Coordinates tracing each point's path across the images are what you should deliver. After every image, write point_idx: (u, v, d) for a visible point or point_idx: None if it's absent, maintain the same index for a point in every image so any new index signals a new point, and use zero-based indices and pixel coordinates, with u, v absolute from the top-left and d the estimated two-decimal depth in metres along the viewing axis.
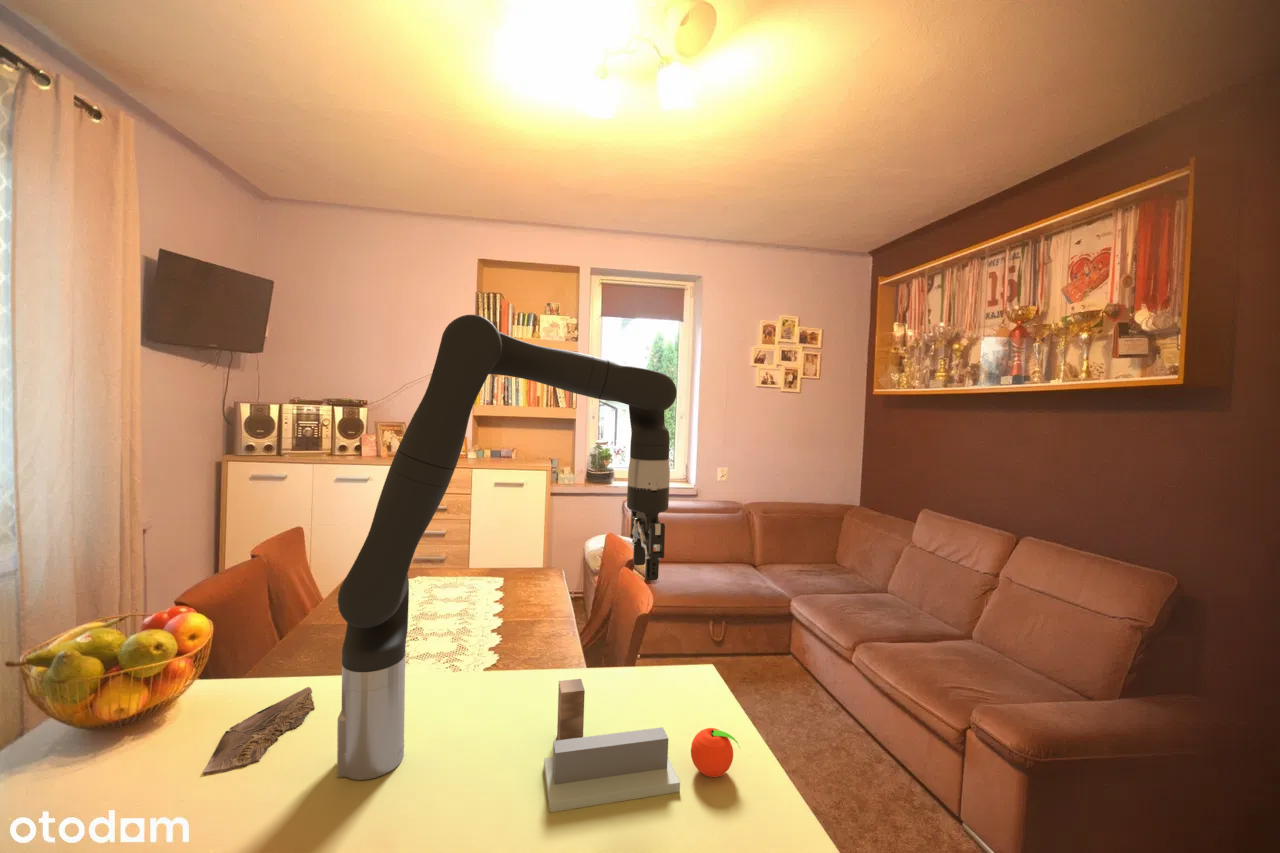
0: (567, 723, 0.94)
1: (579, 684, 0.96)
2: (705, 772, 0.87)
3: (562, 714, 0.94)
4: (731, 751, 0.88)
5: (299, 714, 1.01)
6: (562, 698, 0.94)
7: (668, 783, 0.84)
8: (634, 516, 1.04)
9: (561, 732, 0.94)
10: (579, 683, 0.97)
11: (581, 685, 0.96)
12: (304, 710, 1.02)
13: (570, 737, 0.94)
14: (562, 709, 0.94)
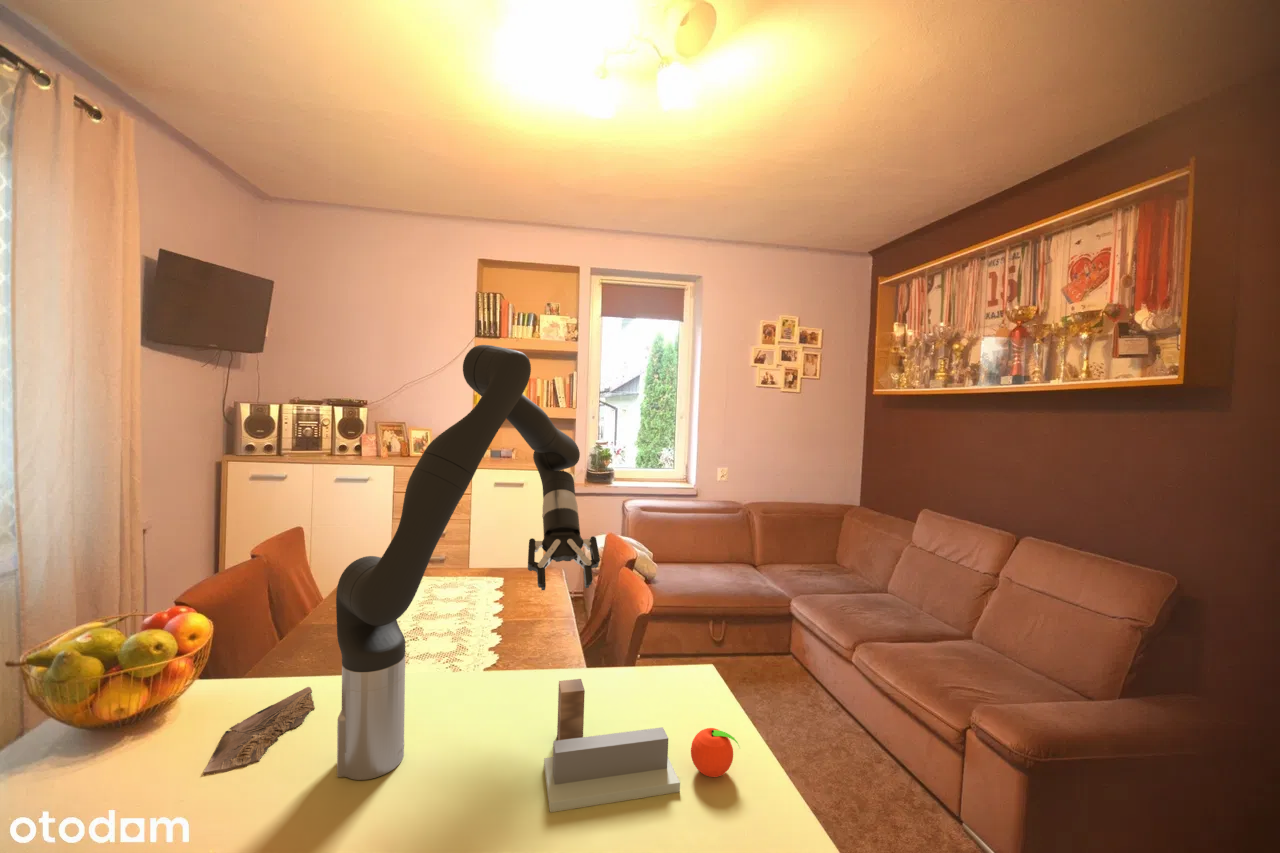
0: (567, 723, 0.94)
1: (579, 684, 0.96)
2: (705, 772, 0.87)
3: (562, 714, 0.94)
4: (731, 751, 0.88)
5: (299, 714, 1.01)
6: (562, 698, 0.94)
7: (668, 783, 0.84)
8: None
9: (561, 732, 0.94)
10: (579, 683, 0.97)
11: (581, 685, 0.96)
12: (304, 710, 1.02)
13: (570, 737, 0.94)
14: (562, 709, 0.94)
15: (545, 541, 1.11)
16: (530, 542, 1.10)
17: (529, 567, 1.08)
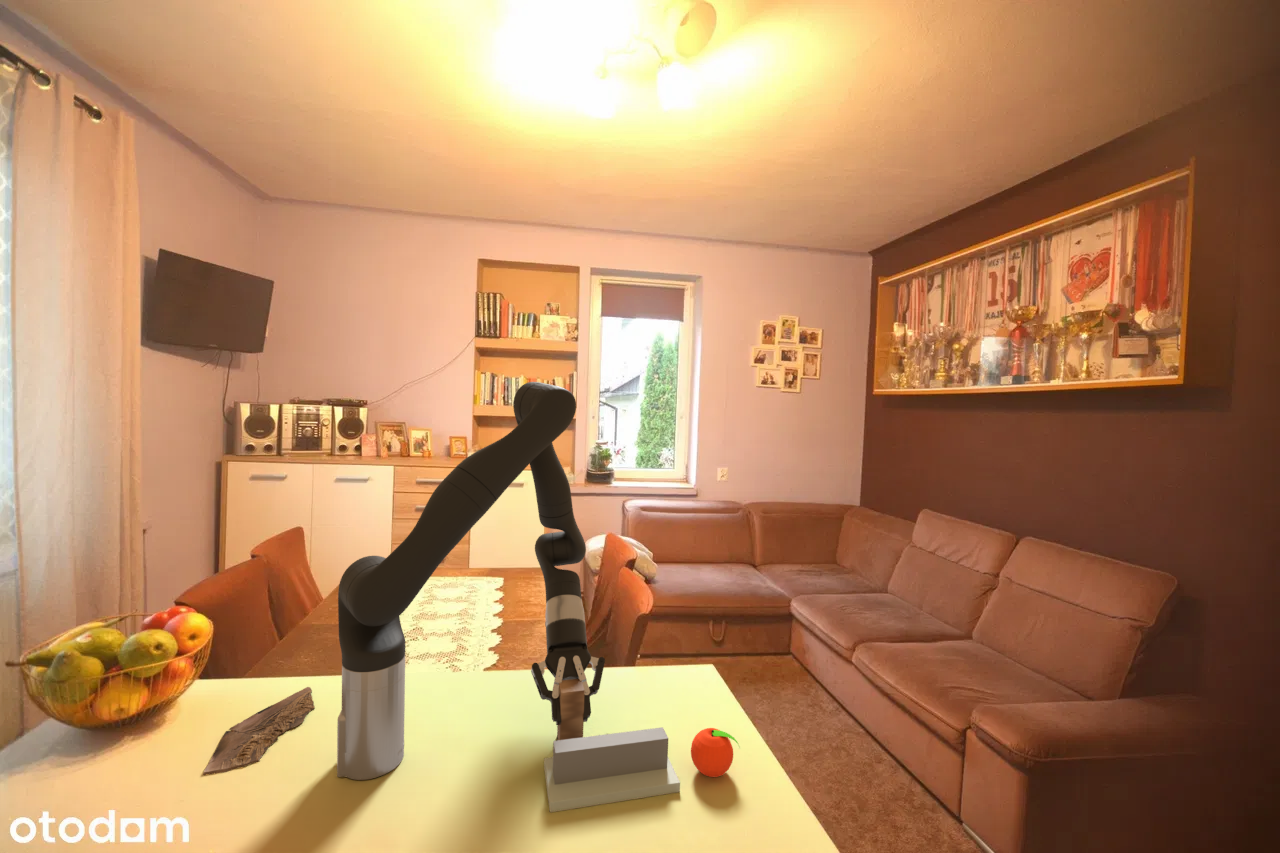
0: (567, 723, 0.94)
1: (579, 684, 0.96)
2: (705, 772, 0.87)
3: (562, 714, 0.94)
4: (731, 751, 0.88)
5: (299, 714, 1.01)
6: (562, 698, 0.94)
7: (668, 783, 0.84)
8: None
9: (561, 732, 0.94)
10: (579, 683, 0.97)
11: (581, 685, 0.96)
12: (304, 710, 1.02)
13: (570, 737, 0.94)
14: (562, 709, 0.94)
15: (549, 660, 0.99)
16: (534, 668, 0.98)
17: (542, 696, 0.96)
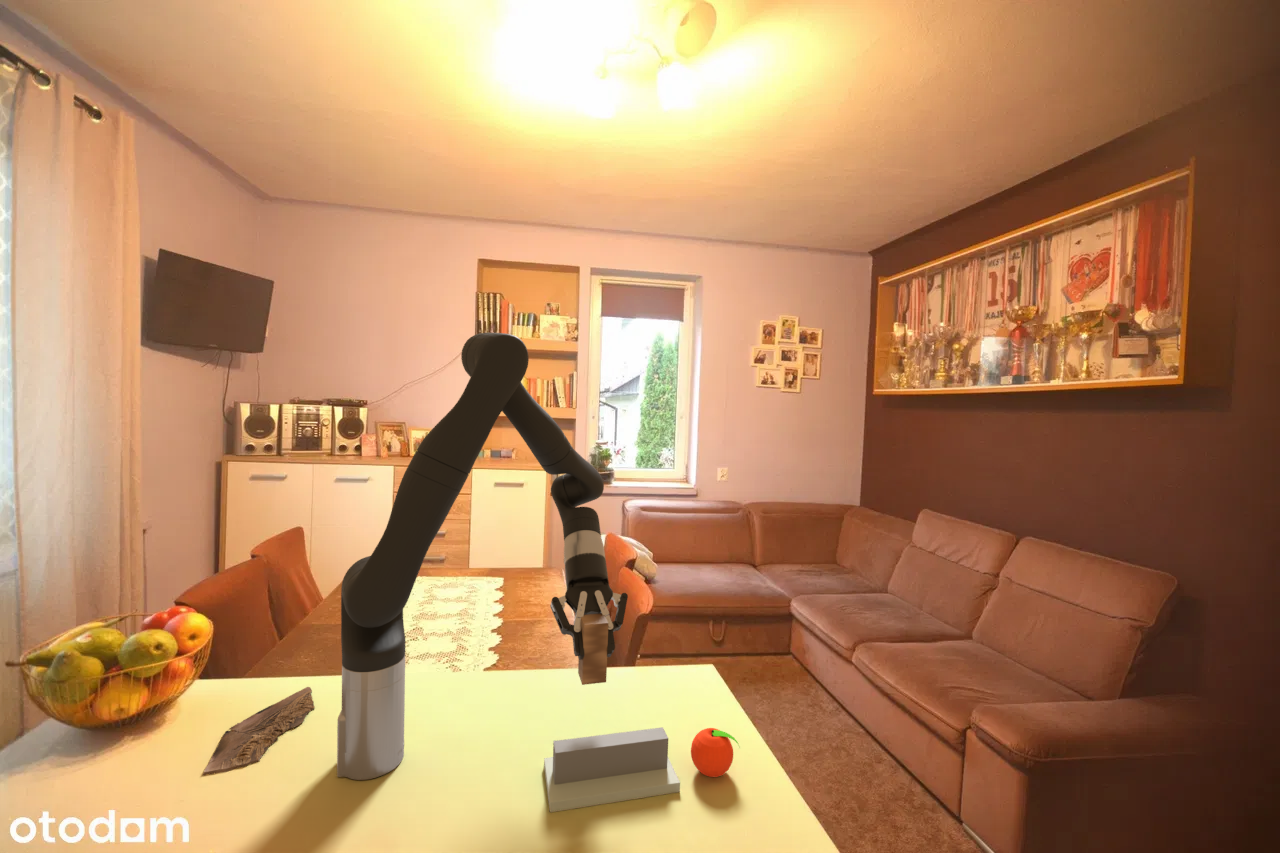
0: (590, 657, 0.89)
1: (602, 617, 0.92)
2: (705, 772, 0.87)
3: (585, 647, 0.89)
4: (731, 751, 0.88)
5: (299, 714, 1.01)
6: (585, 630, 0.89)
7: (668, 783, 0.84)
8: None
9: (584, 667, 0.89)
10: (602, 617, 0.92)
11: (604, 618, 0.91)
12: (303, 710, 1.02)
13: (593, 672, 0.89)
14: (585, 642, 0.89)
15: (569, 594, 0.94)
16: (554, 602, 0.92)
17: (563, 631, 0.91)
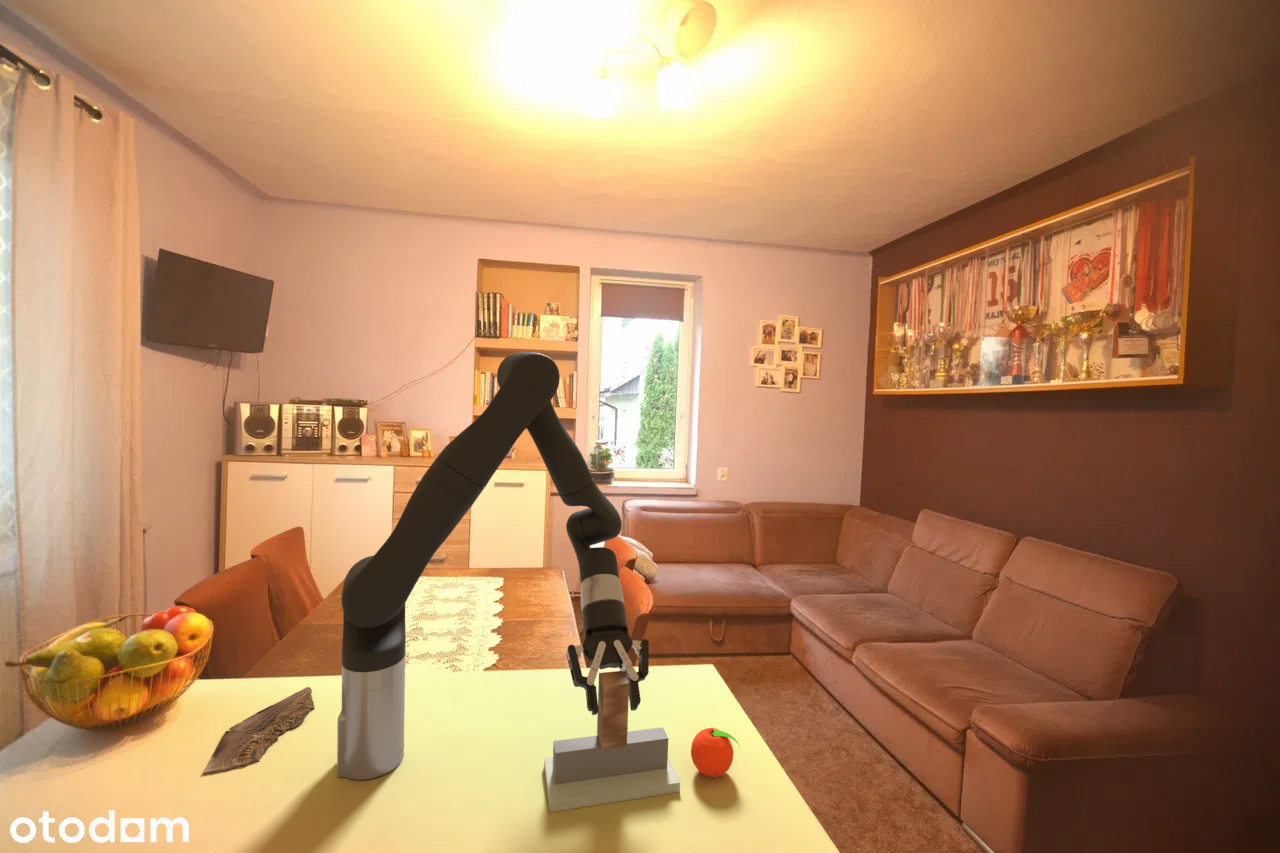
0: (610, 720, 0.84)
1: (622, 676, 0.87)
2: (705, 772, 0.87)
3: (604, 710, 0.84)
4: (731, 751, 0.88)
5: (299, 714, 1.01)
6: (605, 692, 0.84)
7: (668, 783, 0.84)
8: None
9: (603, 730, 0.84)
10: (622, 675, 0.87)
11: (624, 677, 0.86)
12: (303, 710, 1.02)
13: (613, 735, 0.85)
14: (604, 704, 0.84)
15: (587, 644, 0.90)
16: (570, 651, 0.88)
17: (576, 683, 0.86)
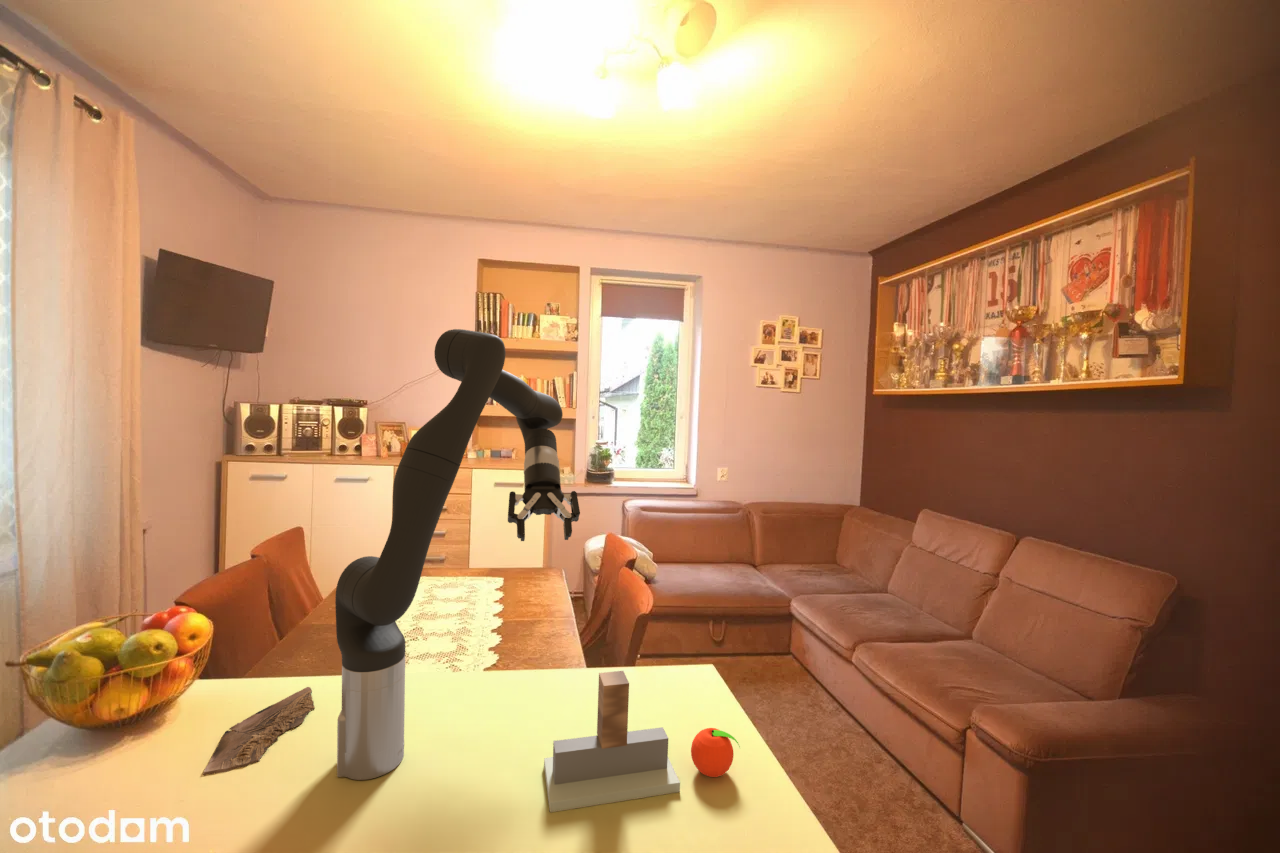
0: (610, 720, 0.84)
1: (622, 676, 0.87)
2: (706, 772, 0.87)
3: (604, 710, 0.84)
4: (731, 751, 0.88)
5: (299, 714, 1.01)
6: (605, 692, 0.84)
7: (668, 783, 0.84)
8: None
9: (603, 730, 0.84)
10: (622, 675, 0.87)
11: (624, 677, 0.86)
12: (303, 710, 1.02)
13: (613, 735, 0.85)
14: (604, 704, 0.84)
15: (525, 494, 1.11)
16: (510, 495, 1.10)
17: (509, 519, 1.08)
